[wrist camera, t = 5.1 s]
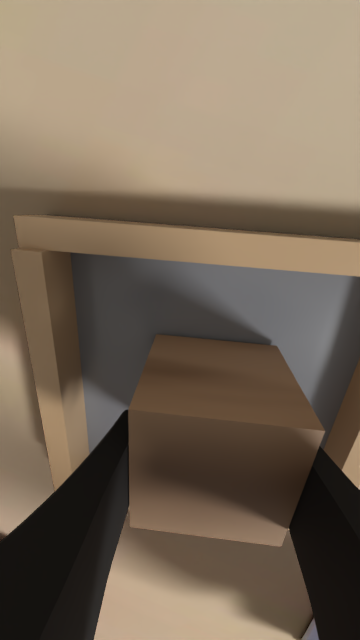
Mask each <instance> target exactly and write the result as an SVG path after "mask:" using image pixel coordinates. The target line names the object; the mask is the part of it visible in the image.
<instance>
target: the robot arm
mask: <svg viewBox="0 0 360 640" xmlns="http://www.w3.org/2000/svg"><path fill="white" fill-rule="evenodd" d="M128 508H129V425H128V410H125V411H123V412H122V414H121V415H120V417H119V418H118V419H117V421H116V422H115V423H114V425H113V426H112V427H111V429H110V430H109V431H108V433H107V434H106V435H105V436H104V438H103V439H102V440H101V441H100V442H99V444H98V445H97V446H96V447H95V448H94V449H93V451H92V452H91V453H90V454H89V455H88V457H87V458H86V459H85V460H84V461H83V462H82V463H81V464H80V465H79V467H78V468H77V469H76V470H75V471H74V472H73V473H72V474H71V475H70V476H69V477H68V478H67V479H66V480H65V481H64V483H63V484H62V485H61V486H60V487H59V488H58V489H57V490H56V491H55V492H54V493H53V494H52V495H51V496H50V497H49V498H48V499H47V500H46V501H45V502H44V503H43V504H42V505H40V506H39V507H38V508H37V509H36V510H35V511H34V512H33V513H32V514H31V515H30V516H29V517H28V518H27V519H26V520H24V521H23V522H22V523H21V524H20V525H19V526H18V527H17V528H15V529H14V530H13V531H12V532H11V533H10V534H9V535H7V536H6V537H5V538H4V539H3V540H2V541H1V542H0V640H94V635H95V631H96V626H97V622H98V618H99V613H100V609H101V605H102V600H103V596H104V592H105V587H106V583H107V579H108V575H109V571H110V568H111V564H112V560H113V557H114V554H115V551H116V547H117V544H118V541H119V537H120V534H121V531H122V528H123V524H124V521H125V518H126V514H127V511H128ZM289 531H290V534H291V538H292V541H293V544H294V548H295V551H296V554H297V558H298V561H299V564H300V568H301V571H302V574H303V578H304V581H305V585H306V588H307V592H308V596H309V599H310V603H311V607H312V611H313V615H314V619H313V620H312V622H311V624H310V626H309V627H308V629H307V631H306V632H305V634H304V636H303V638H302V639H301V640H360V490H359V489H358V488H357V487H356V486H355V485H354V484H353V483H352V481H351V480H350V479H349V478H348V477H347V476H346V475H345V474H344V473H343V471H342V470H341V469H340V468H339V467H338V466H337V465H336V464H335V463H334V461H333V460H332V459H331V458H330V457H329V456H328V455H327V453H326V452H325V451H324V450H323V449H322V448H321V447H320V446H319V449H318V451H317V454H316V457H315V459H314V462H313V465H312V467H311V470H310V472H309V475H308V478H307V480H306V483H305V486H304V488H303V491H302V493H301V496H300V499H299V501H298V504H297V507H296V509H295V512H294V514H293V517H292V520H291V522H290V525H289Z"/></svg>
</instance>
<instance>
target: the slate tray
mask: <svg viewBox="0 0 360 640" xmlns="http://www.w3.org/2000/svg"><path fill="white" fill-rule="evenodd" d="M13 217H14V223H15V229H16V235H17V240H18V246H19V248H16V249H11V255H12V260H13V266H14V271H15V277H16V282H17V288H18V293H19V299H20V304H21V310H22V315H23V321H24V326H25V332H26V337H27V343H28V348H29V353H30V359H31V364H32V370H33V375H34V381H35V386H36V392H37V397H38V403H39V408H40V414H41V419H42V425H43V430H44V436H45V441H46V447H47V452H48V458H49V463H50V469H51V474H52V480H53V485H54V491H56V490H57V489H58V488H59V487H60V486H61V485H62V484H63V483H64V481H65V480H66V479H67V478H68V477H69V476H70V475H71V474H72V473H73V472H74V471H75V470H76V469H77V468H78V467H79V465H80V464H81V463H82V462H83V461H84V460H85V459H86V458H87V457H88V455H89V454H90V453H91V452H92V451H93V449H94V448H95V447H96V446H97V445H98V444H99V442H100V441H101V440H102V439H103V438H104V436H105V435H106V434H107V433H108V431H109V430H110V429H111V427H112V426H113V425H114V423H115V422H116V421H117V419H118V418H119V417H120V415H121V414H122V412H123V411H125V410H128V409H129V406H130V404H131V401H132V398H133V396H134V393H135V390H136V387H137V385H138V382H139V379H140V377H141V374H142V371H143V369H144V366H145V363H146V360H147V358H148V355H149V352H150V350H151V347H152V344H153V342H154V339H155V336H156V334H160V335H170V336H180V337H191V338H201V339H212V340H222V341H232V342H243V343H253V344H264V345H274V346H277V347H278V348H279V350H280V352H281V354H282V356H283V357H284V359H285V361H286V363H287V364H288V366H289V368H290V370H291V371H292V373H293V375H294V377H295V379H296V380H297V382H298V384H299V386H300V387H301V389H302V391H303V393H304V394H305V396H306V398H307V400H308V401H309V403H310V405H311V407H312V409H313V410H314V412H315V414H316V416H317V417H318V419H319V421H320V423H321V424H322V426H323V428H324V430H325V433H324V436H323V438H322V441H321V443H320V447H321V448H322V449H323V450H324V451H325V452H326V453H327V455H328V456H329V457H330V458H331V459H332V460H333V461H334V463H335V464H336V465H337V466H338V467H339V468H340V469H341V470H342V471H343V473H344V474H345V475H346V476H347V477H348V478H349V479H350V480H351V481H352V483H353V484H354V485H355V486H356V487H357V488H358V487H359V485H360V239H351V238H338V237H326V236H313V235H300V234H287V233H274V232H261V231H248V230H235V229H222V228H209V227H197V226H184V225H171V224H158V223H145V222H132V221H119V220H106V219H93V218H81V217H68V216H55V215H13ZM128 510H129V508H128ZM288 531H289V528H288Z"/></svg>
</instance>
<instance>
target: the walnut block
mask: <svg viewBox="0 0 360 640" xmlns="http://www.w3.org/2000/svg"><path fill="white" fill-rule="evenodd" d="M128 425H129V518H130V527H132V528H140V529H148V530H156V531H163V532H171V533H179V534H186V535H194V536H202V537H209V538H217V539H225V540H233V541H240V542H248V543H256V544H263V545H271V546H279V547H281V546H282V543H283V541H284V538H285V536H286V533H287V530H288V528H289V525H290V522H291V520H292V517H293V514H294V512H295V509H296V507H297V504H298V501H299V499H300V496H301V493H302V491H303V488H304V486H305V483H306V480H307V478H308V475H309V472H310V470H311V467H312V465H313V462H314V459H315V457H316V454H317V451H318V449H319V446H320V443H321V441H322V438H323V436H324V433H325V430H324V428H323V426H322V424H321V423H320V421H319V419H318V417H317V416H316V414H315V412H314V410H313V409H312V407H311V405H310V403H309V401H308V400H307V398H306V396H305V394H304V393H303V391H302V389H301V387H300V386H299V384H298V382H297V380H296V379H295V377H294V375H293V373H292V371H291V370H290V368H289V366H288V364H287V363H286V361H285V359H284V357H283V356H282V354H281V352H280V350H279V348H278V347H277V346H274V345H264V344H253V343H243V342H232V341H222V340H212V339H201V338H191V337H180V336H170V335H160V334H156V336H155V339H154V342H153V344H152V347H151V350H150V352H149V355H148V358H147V360H146V363H145V366H144V369H143V371H142V374H141V377H140V379H139V382H138V385H137V387H136V390H135V393H134V396H133V398H132V401H131V404H130V406H129V409H128Z"/></svg>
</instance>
